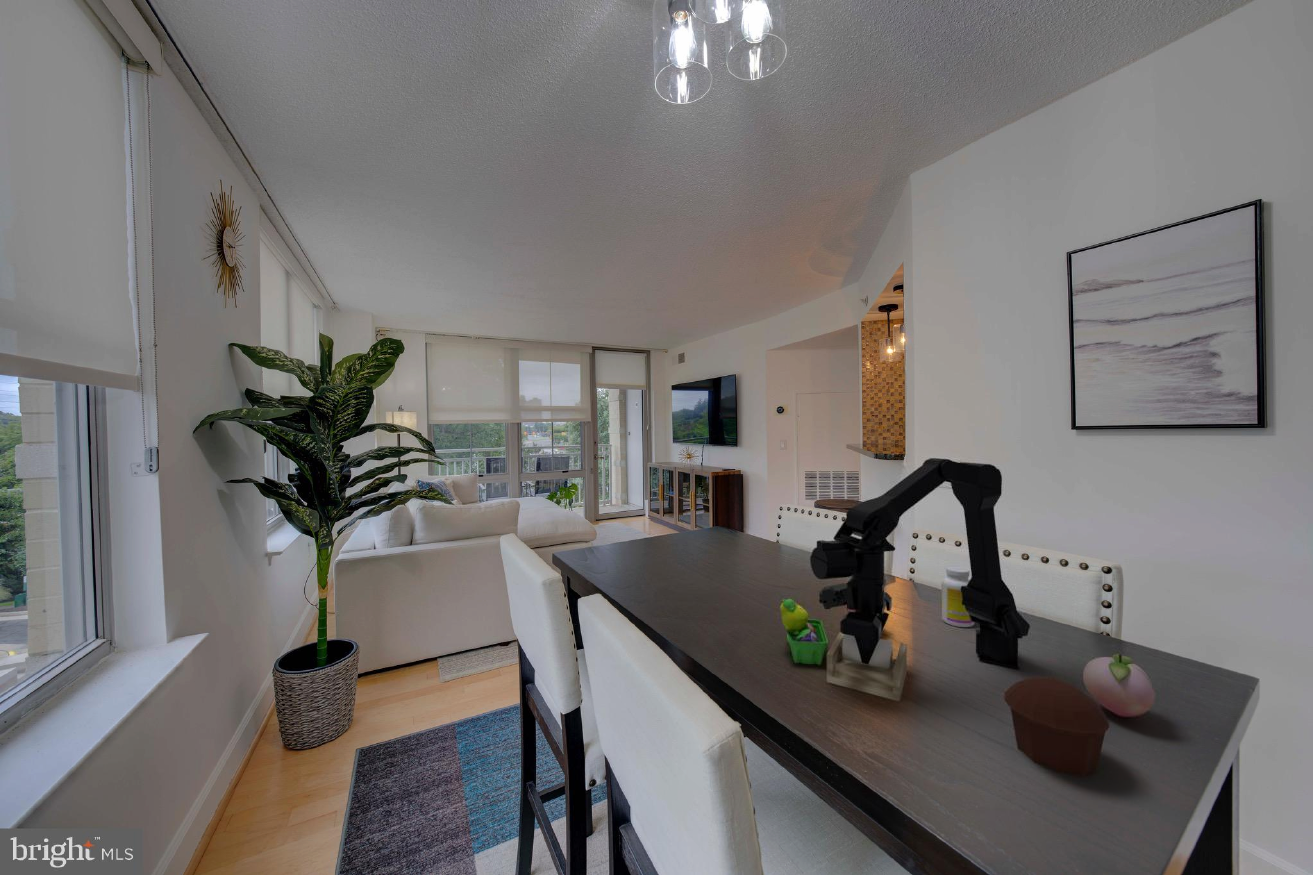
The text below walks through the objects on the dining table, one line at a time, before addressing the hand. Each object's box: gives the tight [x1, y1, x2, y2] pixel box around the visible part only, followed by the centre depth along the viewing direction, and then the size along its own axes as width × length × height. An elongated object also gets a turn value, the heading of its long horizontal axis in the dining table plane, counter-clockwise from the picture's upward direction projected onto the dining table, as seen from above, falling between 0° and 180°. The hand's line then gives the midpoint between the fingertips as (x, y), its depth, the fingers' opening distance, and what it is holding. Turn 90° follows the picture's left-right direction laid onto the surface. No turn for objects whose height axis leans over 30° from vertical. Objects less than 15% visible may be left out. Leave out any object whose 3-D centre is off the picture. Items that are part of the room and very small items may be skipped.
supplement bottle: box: [941, 565, 975, 628], centre depth 114 cm, size 7×7×13 cm
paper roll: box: [842, 634, 894, 671], centre depth 90 cm, size 8×5×5 cm, turn 57°
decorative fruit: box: [1082, 653, 1156, 718], centre depth 77 cm, size 9×8×10 cm
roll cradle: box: [826, 631, 908, 702], centre depth 90 cm, size 12×12×5 cm
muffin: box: [1003, 676, 1110, 777], centre depth 68 cm, size 12×11×10 cm
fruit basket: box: [779, 598, 829, 666], centre depth 99 cm, size 11×9×11 cm
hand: (867, 657), depth 90 cm, fingers closed on paper roll, 5 cm apart
